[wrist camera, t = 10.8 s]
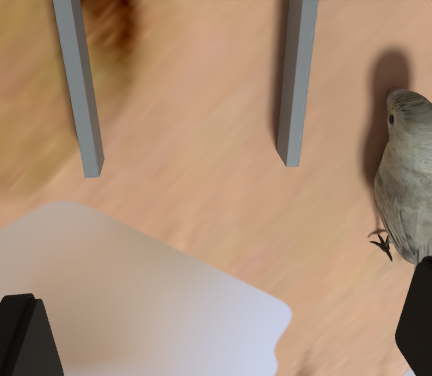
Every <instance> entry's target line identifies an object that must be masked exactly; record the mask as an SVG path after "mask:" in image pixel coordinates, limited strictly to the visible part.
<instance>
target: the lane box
mask: <svg viewBox="0 0 432 376" xmlns="http://www.w3.org/2000/svg"><path fill="white" fill-rule="evenodd" d="M53 4H54V9H55V15H56V20H57V26H58V31H59V37H60V42H61V48H62V53H63V59H64V64H65V70H66V75H67V81H68V86H69V92H70V97H71V103H72V108H73V114H74V119H75V125H76V130H77V136H78V141H79V147H80V152H81V158H82V163H83V169H84V174H85V178H92V177H99V176H100V173H101V169H102V166H103V162H104V155H103V148H102V141H101V135H100V128H99V122H98V115H97V108H96V102H95V95H94V89H93V82H92V75H91V69H90V62H89V56H88V49H87V42H86V36H85V29H84V23H83V16H82V9H81V3H80V0H53ZM317 7H318V0H289V7H288V19H287V31H286V43H285V55H284V67H283V79H282V91H281V103H280V115H279V127H278V139H277V152H278V154H279V156H280V157H281V159H282V161H283V162H284V164H285V166H286V167H295V166H299V162H300V153H301V145H302V136H303V128H304V119H305V110H306V102H307V93H308V85H309V76H310V67H311V59H312V50H313V42H314V33H315V24H316V16H317Z"/></svg>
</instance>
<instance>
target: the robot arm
mask: <svg viewBox="0 0 432 376" xmlns="http://www.w3.org/2000/svg"><path fill="white" fill-rule="evenodd" d="M395 340H396V344H397V346H398V348H399V350H400V351H401V353H402V355H403V356H404V358H405V359H406V361H407V362H408V364H409V366H410V367H411V369H412V370H413V371H414V373H415V375H416V376H432V256H425V257H424V258H423V259H422V261H421V262H420V263H418V264H417V266H416V268H415V271H414V275H413V278H412V281H411V284H410V287H409V291H408V294H407V297H406V300H405V304H404V307H403V310H402V313H401V316H400V320H399V323H398V326H397V329H396V333H395ZM0 376H64V373H63V369H62V365H61V362H60V359H59V355H58V352H57V348H56V345H55V342H54V338H53V335H52V331H51V328H50V324H49V321H48V317H47V314H46V310H45V307H44V304H43V301H42V300H41V299H35V297H34V295H33V294H32V293H29V294H19V295H7V296H4V297H3V299H2V300H1V302H0Z"/></svg>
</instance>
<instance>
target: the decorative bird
mask: <svg viewBox="0 0 432 376" xmlns="http://www.w3.org/2000/svg"><path fill="white" fill-rule="evenodd" d="M387 109H388V119H387V125H388V132H389V141H388V143H387V145H386V148H385V151H384V154H383V158H382V161H381V164H380V166H379V168H378V171H377V173H376V176H375V181H374V193H375V199H376V203H377V208H378V211H379V214H380V217H381V220H382V222H383V225H384V227H385V229H386V231H387V233H388V236H387V239H386V242H384V240H383V239H382V237H381V236H380V235H378V237H379V239H380V241H381V244H380V243H378V242H375V241H369V242H371V243H374V244H376V245H377V246H379V247H380V248H381V249H382V250H383V252H386V253H387V255H388V256H389V258H390V260H391V261H392V256H391V254H390V252H389V249H390V248H389V243H393V244H394V246H395V248H396V250H397V251H398V252H399V254H400V255H401V256H402V257H403V258H404V259H405V260H406V261H407V262H409V263H412V264H415V268H416V266H417V264H418V263H420V262H421V261H422V259H423V258H424V257H425V256H432V103H431V102H430V101H428V100H427V99H426V98H425V97H424V96H422V95H420V94H418V93H416V92H413V91H410V90H407V89H402V88H392V89H390V90H389V93H388V96H387Z"/></svg>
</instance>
